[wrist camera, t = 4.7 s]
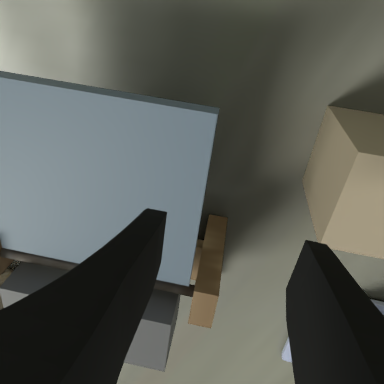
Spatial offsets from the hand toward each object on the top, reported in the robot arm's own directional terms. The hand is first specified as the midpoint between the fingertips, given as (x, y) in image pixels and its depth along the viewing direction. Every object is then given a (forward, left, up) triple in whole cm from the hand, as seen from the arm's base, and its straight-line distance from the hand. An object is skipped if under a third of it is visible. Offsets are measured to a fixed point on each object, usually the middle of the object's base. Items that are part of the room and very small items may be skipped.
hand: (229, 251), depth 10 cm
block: (-6, 0, -10) cm, 12 cm away
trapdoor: (+6, +4, -6) cm, 10 cm away
